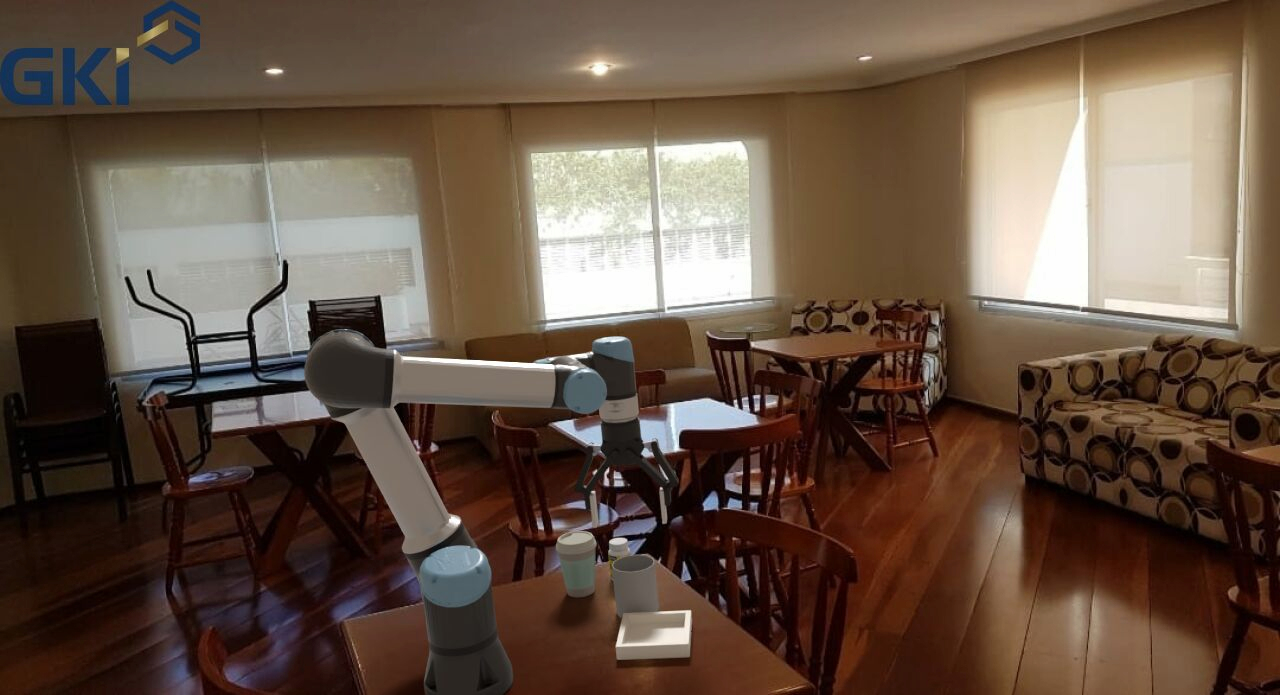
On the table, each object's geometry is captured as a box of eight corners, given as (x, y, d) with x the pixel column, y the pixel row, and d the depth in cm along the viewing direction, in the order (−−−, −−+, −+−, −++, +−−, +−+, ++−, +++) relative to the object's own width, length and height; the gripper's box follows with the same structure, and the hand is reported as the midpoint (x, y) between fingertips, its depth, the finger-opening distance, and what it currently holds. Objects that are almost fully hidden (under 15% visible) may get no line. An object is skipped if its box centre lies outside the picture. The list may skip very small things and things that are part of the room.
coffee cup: (585, 579, 197) (579, 527, 195) (609, 590, 190) (603, 536, 188) (552, 592, 191) (546, 539, 189) (576, 604, 185) (570, 548, 183)
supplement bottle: (607, 582, 194) (603, 544, 193) (614, 572, 199) (610, 536, 197) (628, 582, 193) (625, 545, 191) (635, 573, 197) (631, 537, 196)
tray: (616, 659, 161) (615, 646, 161) (624, 625, 174) (623, 613, 173) (689, 657, 160) (688, 643, 159) (692, 622, 172) (691, 610, 172)
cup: (654, 621, 175) (649, 572, 173) (612, 620, 176) (608, 572, 175) (661, 601, 183) (657, 554, 181) (622, 601, 184) (617, 554, 183)
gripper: (552, 427, 171) (564, 533, 174) (683, 418, 168) (693, 526, 171) (559, 417, 178) (570, 519, 181) (685, 408, 175) (694, 512, 179)
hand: (630, 523), depth 176 cm, fingers open, 13 cm apart
